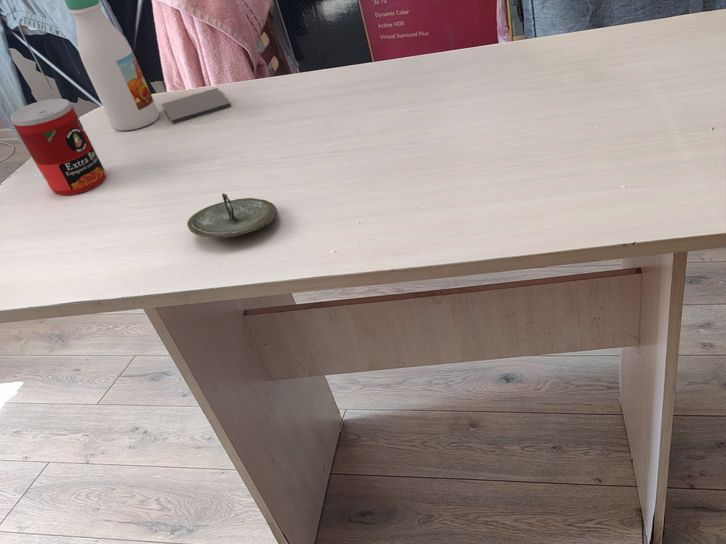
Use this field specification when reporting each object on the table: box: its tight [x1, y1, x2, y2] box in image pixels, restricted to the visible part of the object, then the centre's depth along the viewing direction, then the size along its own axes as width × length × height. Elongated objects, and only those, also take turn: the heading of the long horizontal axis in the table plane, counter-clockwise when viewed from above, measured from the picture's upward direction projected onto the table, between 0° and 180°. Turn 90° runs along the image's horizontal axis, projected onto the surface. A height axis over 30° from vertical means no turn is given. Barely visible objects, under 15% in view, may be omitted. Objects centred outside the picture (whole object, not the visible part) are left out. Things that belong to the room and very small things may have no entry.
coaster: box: [161, 87, 232, 125], centre depth 117 cm, size 10×10×1 cm
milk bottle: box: [64, 0, 160, 131], centre depth 108 cm, size 8×8×20 cm
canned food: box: [9, 98, 106, 196], centre depth 94 cm, size 8×8×11 cm
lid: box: [186, 193, 278, 239], centre depth 81 cm, size 11×10×5 cm
